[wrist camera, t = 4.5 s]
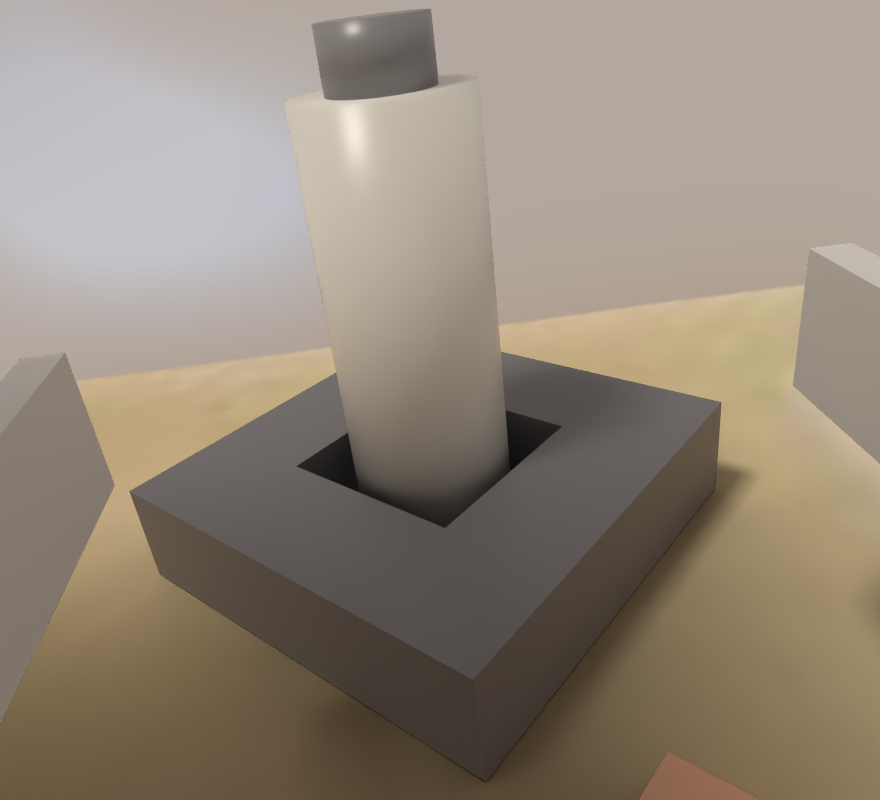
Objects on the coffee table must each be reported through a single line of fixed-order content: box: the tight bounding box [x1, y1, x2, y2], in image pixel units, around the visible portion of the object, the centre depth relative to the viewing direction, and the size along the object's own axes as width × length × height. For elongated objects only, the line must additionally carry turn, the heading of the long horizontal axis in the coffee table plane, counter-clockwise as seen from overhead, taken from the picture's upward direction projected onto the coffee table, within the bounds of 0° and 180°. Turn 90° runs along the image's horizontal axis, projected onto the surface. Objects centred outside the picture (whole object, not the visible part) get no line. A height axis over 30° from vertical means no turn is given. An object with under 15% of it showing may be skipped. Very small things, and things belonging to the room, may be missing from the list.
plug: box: [284, 9, 510, 528], centre depth 20 cm, size 4×4×14 cm
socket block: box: [129, 352, 721, 782], centre depth 23 cm, size 12×12×3 cm
